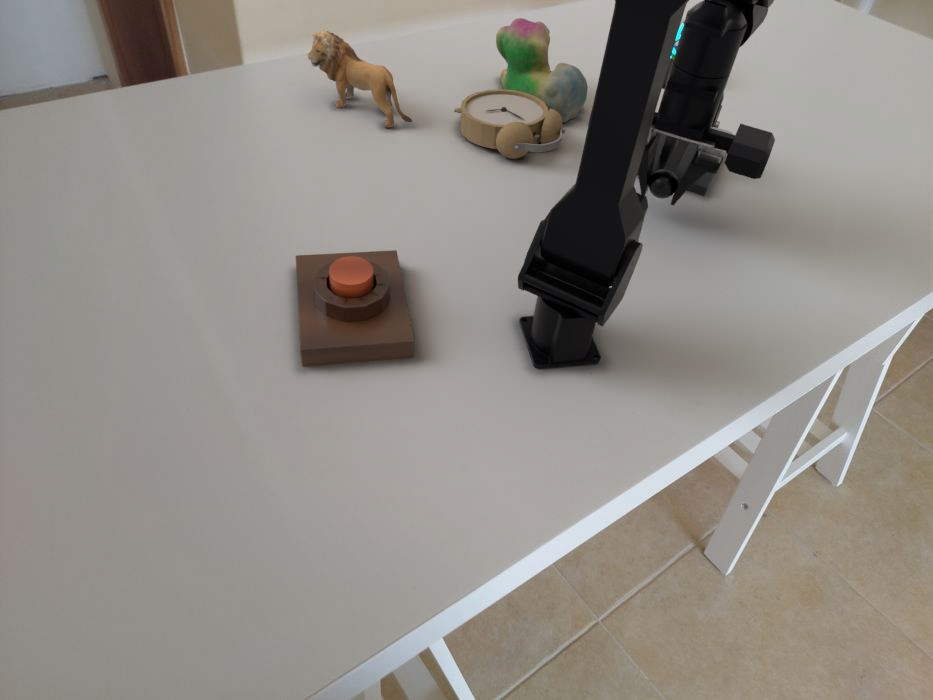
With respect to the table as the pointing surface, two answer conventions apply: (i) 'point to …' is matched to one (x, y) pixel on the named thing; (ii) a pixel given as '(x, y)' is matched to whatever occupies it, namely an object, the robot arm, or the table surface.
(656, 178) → the lever
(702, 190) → the bracket
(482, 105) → the alarm clock
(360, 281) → the button
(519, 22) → the sculpture
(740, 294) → the table surface
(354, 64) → the lion figurine
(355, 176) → the table surface
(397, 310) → the button block
